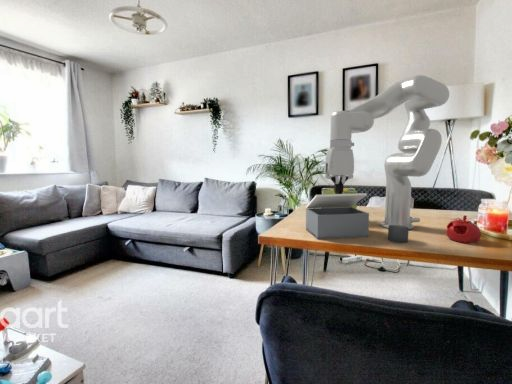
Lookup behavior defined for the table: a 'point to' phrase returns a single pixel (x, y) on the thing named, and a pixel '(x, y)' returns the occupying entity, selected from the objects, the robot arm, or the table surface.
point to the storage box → (337, 222)
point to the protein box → (345, 191)
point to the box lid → (335, 200)
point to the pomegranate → (463, 231)
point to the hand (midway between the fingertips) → (338, 193)
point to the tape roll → (398, 233)
